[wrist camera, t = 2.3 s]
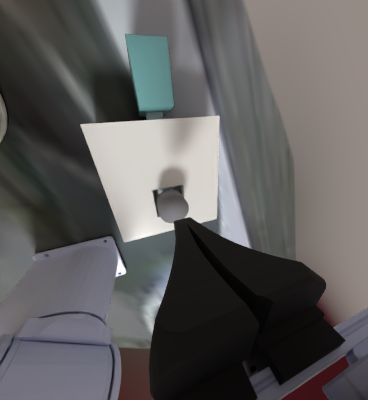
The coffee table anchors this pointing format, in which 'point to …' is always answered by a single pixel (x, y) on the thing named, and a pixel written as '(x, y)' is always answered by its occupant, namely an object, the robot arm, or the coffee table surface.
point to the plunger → (172, 206)
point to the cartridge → (151, 76)
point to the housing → (156, 169)
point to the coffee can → (2, 119)
